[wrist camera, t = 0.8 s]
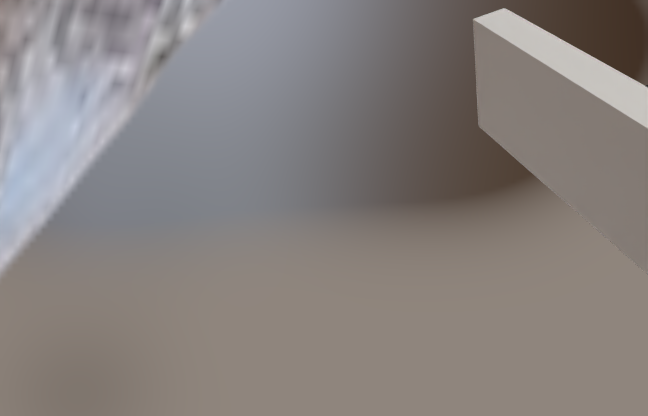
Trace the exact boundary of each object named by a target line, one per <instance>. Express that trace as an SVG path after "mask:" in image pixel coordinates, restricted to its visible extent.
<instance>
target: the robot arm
mask: <svg viewBox="0 0 648 416" xmlns="http://www.w3.org/2000/svg"><path fill="white" fill-rule="evenodd" d="M473 27H474V45H475V65H476V84H477V102H478V122H479V127H480V128H482V129H483V130H484V131H485V132H486V133H487V134H488V135H489V136H491V137H492V138H493V139H494V140H495V141H496V142H497V143H499V144H500V145H501V146H502V147H503V148H504V149H505V150H507V151H508V152H509V153H510V154H511V155H512V156H514V158H516V159H517V160H518V161H519V162H520V163H521V164H523V165H524V166H525V167H526V168H527V169H528V170H529V171H530V172H532V173H533V174H534V175H535V176H536V177H537V178H538V179H539V180H541V181H542V182H543V183H544V184H545V185H546V186H547V187H549V188H550V189H551V190H552V191H553V192H554V193H555V194H557V195H558V196H559V197H560V198H561V199H562V200H563V201H564V202H566V203H567V204H568V205H569V206H570V207H571V208H573V209H574V210H575V211H576V212H577V213H578V214H579V215H581V216H582V217H583V218H584V219H585V220H586V221H587V222H589V224H591V225H592V226H593V227H594V228H595V229H596V230H597V231H599V232H600V233H601V234H602V235H603V236H604V237H605V238H607V239H608V240H609V241H610V242H611V243H612V244H613V245H614V246H616V247H617V248H618V249H619V250H620V251H621V252H622V253H624V254H625V255H626V256H627V257H628V258H629V259H631V260H632V261H633V262H634V263H635V264H636V265H637V266H638V267H640V268H641V269H642V270H643V271H644V272H645V273H646V274H648V85H646V86H644V85H642V84H640V83H639V82H637V81H635V80H633V79H631V78H629V77H628V76H626V75H624V74H622V73H621V72H619V71H617V70H615V69H613V68H612V67H610V66H608V65H606V64H604V63H603V62H601V61H599V60H597V59H595V58H594V57H592V56H590V55H588V54H586V53H585V52H583V51H581V50H579V49H577V48H576V47H574V46H572V45H570V44H568V43H567V42H565V41H563V40H561V39H559V38H558V37H556V36H554V35H552V34H550V33H549V32H547V31H545V30H543V29H541V28H539V27H538V26H536V25H534V24H532V23H531V22H529V21H527V20H525V19H523V18H521V17H520V16H518V15H516V14H514V13H513V12H511V11H509V10H507V9H505V8H503V9H501V10H498V11H495V12H492V13H489V14H486V15H484V16H481V17H478V18H475V19H473Z"/></svg>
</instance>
